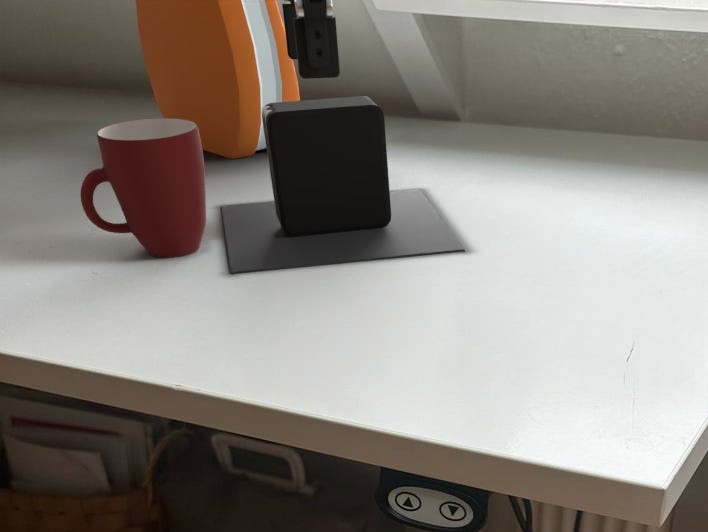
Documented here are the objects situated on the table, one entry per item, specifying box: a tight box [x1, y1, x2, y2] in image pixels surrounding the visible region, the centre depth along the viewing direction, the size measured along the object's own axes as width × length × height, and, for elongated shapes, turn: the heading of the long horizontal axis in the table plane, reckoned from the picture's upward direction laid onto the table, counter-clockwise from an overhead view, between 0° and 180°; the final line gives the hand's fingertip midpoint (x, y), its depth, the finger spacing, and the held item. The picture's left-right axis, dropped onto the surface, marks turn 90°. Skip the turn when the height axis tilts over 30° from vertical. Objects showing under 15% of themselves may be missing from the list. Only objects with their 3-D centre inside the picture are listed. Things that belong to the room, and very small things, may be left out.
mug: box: [79, 117, 207, 259], centre depth 79 cm, size 11×8×10 cm
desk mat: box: [220, 188, 466, 275], centre depth 87 cm, size 20×20×1 cm
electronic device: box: [262, 95, 391, 237], centre depth 84 cm, size 4×10×10 cm, turn 106°
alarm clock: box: [135, 0, 301, 159], centre depth 109 cm, size 22×10×23 cm, turn 42°
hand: (313, 67), depth 79 cm, fingers open, 9 cm apart
